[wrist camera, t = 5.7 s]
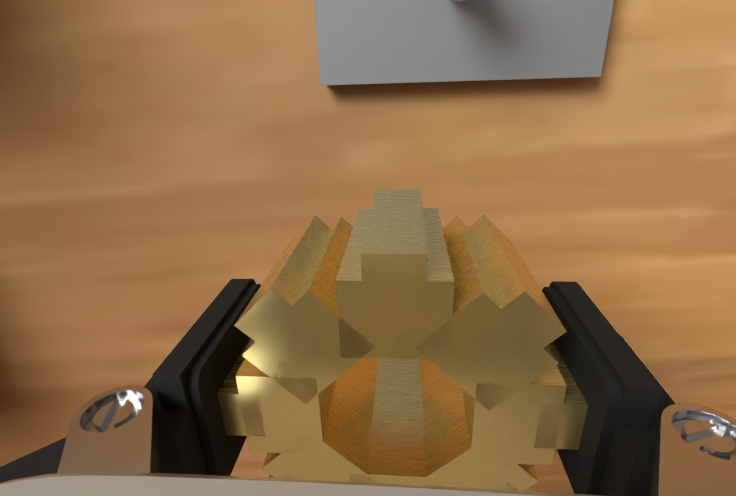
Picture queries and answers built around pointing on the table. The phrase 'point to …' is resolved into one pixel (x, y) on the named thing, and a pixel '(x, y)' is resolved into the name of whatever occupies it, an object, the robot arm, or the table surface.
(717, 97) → the table surface
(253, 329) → the brass gear
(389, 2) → the gear board
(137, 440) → the robot arm
